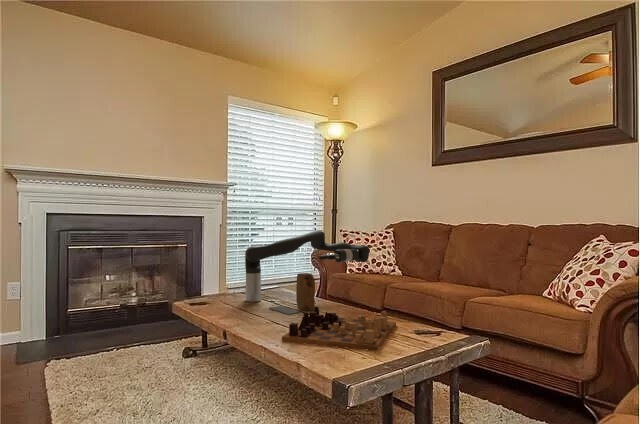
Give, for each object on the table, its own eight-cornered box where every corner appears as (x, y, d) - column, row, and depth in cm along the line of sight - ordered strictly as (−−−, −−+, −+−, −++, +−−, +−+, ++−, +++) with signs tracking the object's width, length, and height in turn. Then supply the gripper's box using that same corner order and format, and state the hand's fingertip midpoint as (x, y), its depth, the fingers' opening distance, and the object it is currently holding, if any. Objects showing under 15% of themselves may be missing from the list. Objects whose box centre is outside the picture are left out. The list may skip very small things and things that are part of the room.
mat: (268, 308, 242) (268, 307, 242) (280, 306, 246) (280, 305, 246) (288, 314, 226) (288, 313, 226) (300, 312, 230) (300, 311, 230)
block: (295, 308, 241) (295, 273, 241) (306, 307, 245) (306, 271, 246) (305, 312, 232) (305, 275, 232) (317, 310, 236) (316, 273, 237)
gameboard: (377, 352, 164) (376, 328, 164) (281, 342, 178) (281, 320, 178) (396, 327, 201) (395, 307, 201) (316, 320, 215) (316, 302, 215)
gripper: (335, 248, 261) (313, 250, 251) (350, 249, 251) (327, 251, 240) (336, 261, 261) (313, 263, 250) (350, 262, 250) (327, 265, 240)
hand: (320, 257), depth 245 cm, fingers closed
